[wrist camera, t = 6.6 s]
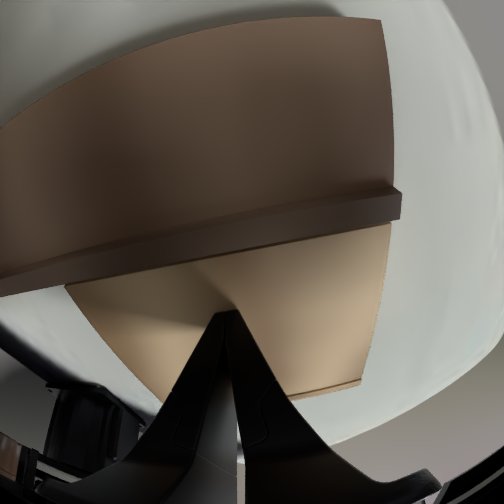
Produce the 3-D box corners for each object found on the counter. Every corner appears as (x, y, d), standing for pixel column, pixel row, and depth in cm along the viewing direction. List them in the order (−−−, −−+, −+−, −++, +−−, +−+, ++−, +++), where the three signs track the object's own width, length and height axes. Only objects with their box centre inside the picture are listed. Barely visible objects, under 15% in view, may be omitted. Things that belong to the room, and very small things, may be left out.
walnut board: (8, 272, 9) (-12, 299, 8) (-39, 172, 6) (-67, 192, 5) (371, 191, 9) (399, 219, 7) (356, 27, 6) (390, 17, 4)
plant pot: (5, 437, 45) (-3, 475, 32) (-19, 419, 36) (-29, 461, 23) (41, 455, 48) (35, 495, 35) (19, 441, 39) (11, 487, 26)
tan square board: (175, 392, 16) (173, 414, 14) (78, 261, 9) (62, 288, 8) (352, 364, 15) (359, 386, 14) (371, 201, 9) (393, 225, 8)
